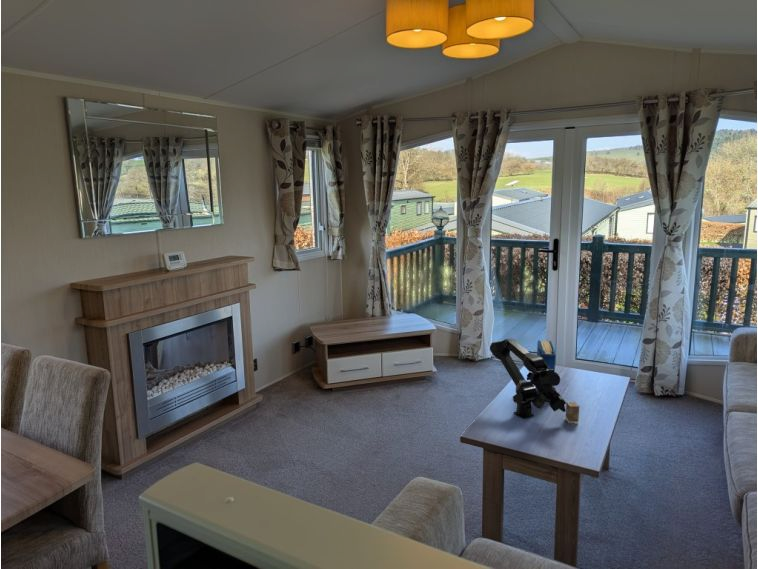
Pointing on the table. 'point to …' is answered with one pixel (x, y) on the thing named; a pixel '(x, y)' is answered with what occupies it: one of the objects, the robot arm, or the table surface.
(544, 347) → the book
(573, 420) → the brown rectangular block
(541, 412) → the table surface
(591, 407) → the table surface
